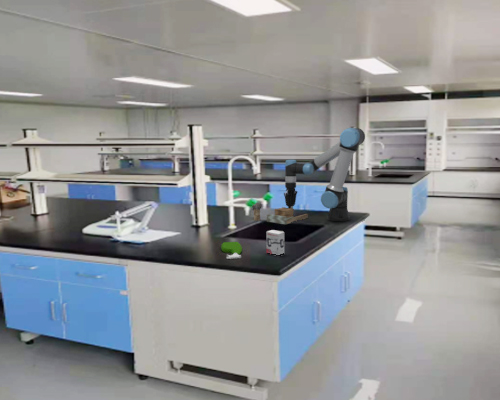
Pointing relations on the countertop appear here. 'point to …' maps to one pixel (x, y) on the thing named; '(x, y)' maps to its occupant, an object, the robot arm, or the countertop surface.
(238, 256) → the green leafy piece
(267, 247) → the ink box
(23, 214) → the countertop surface
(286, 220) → the bay
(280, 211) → the crate
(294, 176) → the robot arm
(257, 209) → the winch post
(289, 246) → the countertop surface
